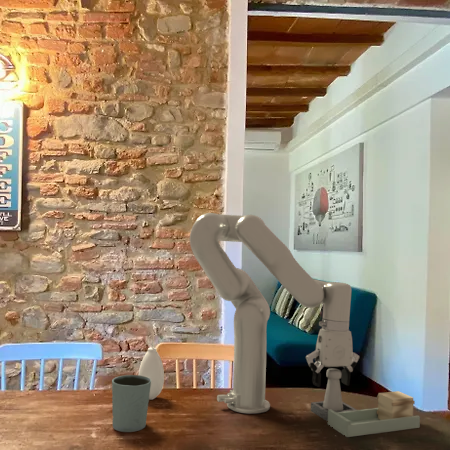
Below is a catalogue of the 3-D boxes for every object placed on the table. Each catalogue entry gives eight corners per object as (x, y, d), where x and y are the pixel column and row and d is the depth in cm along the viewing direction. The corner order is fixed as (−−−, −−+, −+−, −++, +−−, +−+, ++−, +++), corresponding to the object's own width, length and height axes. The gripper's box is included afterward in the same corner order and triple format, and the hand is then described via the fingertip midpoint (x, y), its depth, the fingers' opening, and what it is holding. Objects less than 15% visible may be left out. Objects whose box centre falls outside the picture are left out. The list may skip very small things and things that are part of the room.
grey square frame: (328, 422, 143) (328, 413, 143) (310, 411, 152) (311, 402, 152) (357, 419, 147) (357, 410, 147) (338, 408, 156) (338, 399, 156)
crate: (392, 426, 140) (393, 400, 140) (376, 417, 146) (377, 392, 146) (414, 423, 143) (414, 398, 143) (397, 415, 149) (398, 390, 149)
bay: (346, 437, 133) (347, 421, 133) (327, 424, 142) (328, 409, 142) (419, 427, 142) (419, 412, 142) (397, 416, 150) (397, 402, 150)
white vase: (141, 393, 163) (143, 336, 163) (166, 395, 162) (168, 337, 162) (134, 401, 155) (136, 341, 156) (159, 403, 154) (161, 342, 155)
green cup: (107, 421, 139) (108, 376, 139) (144, 417, 143) (145, 373, 143) (114, 435, 130) (116, 387, 130) (154, 430, 134) (155, 383, 134)
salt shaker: (343, 419, 146) (344, 373, 146) (322, 417, 147) (323, 371, 147) (342, 412, 152) (344, 367, 152) (322, 410, 153) (324, 366, 153)
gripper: (316, 328, 143) (311, 390, 143) (368, 328, 149) (364, 387, 149) (302, 322, 150) (298, 382, 150) (353, 323, 156) (348, 380, 156)
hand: (331, 384), depth 150 cm, fingers open, 9 cm apart
